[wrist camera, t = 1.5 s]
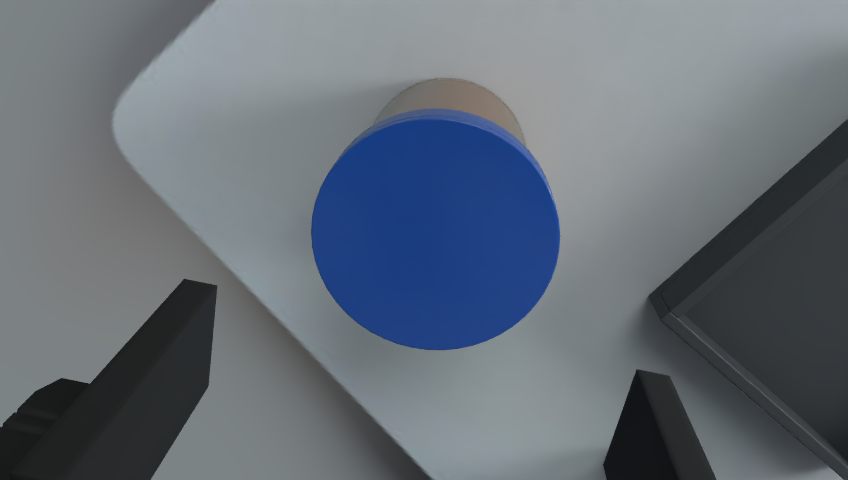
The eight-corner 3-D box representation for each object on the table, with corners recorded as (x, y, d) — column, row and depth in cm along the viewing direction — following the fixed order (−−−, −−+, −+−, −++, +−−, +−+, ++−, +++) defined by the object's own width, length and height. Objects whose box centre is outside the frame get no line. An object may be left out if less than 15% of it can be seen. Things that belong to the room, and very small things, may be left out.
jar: (453, 260, 37) (445, 370, 27) (336, 164, 35) (283, 243, 26) (559, 151, 34) (592, 229, 25) (438, 43, 33) (423, 80, 23)
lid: (446, 368, 28) (444, 393, 27) (273, 233, 27) (261, 251, 25) (605, 216, 26) (613, 233, 24) (424, 55, 24) (420, 62, 22)
